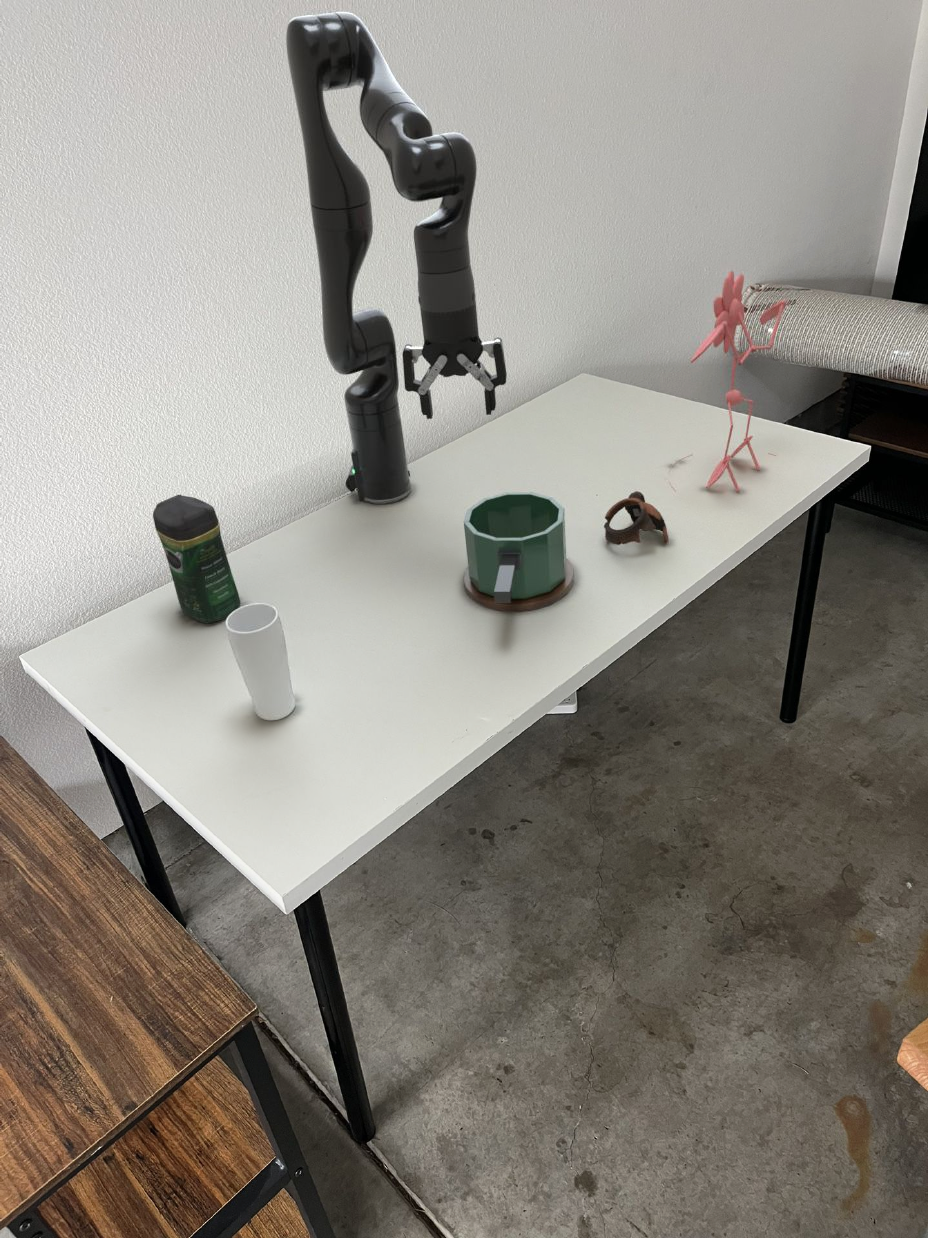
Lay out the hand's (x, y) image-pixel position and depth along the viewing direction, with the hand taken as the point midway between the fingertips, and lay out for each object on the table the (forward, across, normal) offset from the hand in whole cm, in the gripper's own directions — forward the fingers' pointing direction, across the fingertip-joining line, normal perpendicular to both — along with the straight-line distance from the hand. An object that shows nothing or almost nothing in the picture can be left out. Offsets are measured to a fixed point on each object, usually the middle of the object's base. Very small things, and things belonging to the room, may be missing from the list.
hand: (459, 414), depth 137 cm
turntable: (+26, -7, +4) cm, 27 cm away
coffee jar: (+26, +41, +8) cm, 49 cm away
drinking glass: (+26, +25, +33) cm, 49 cm away
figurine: (+26, -41, -29) cm, 57 cm away
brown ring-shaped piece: (+26, -26, -7) cm, 38 cm away
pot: (+25, -7, +9) cm, 27 cm away
